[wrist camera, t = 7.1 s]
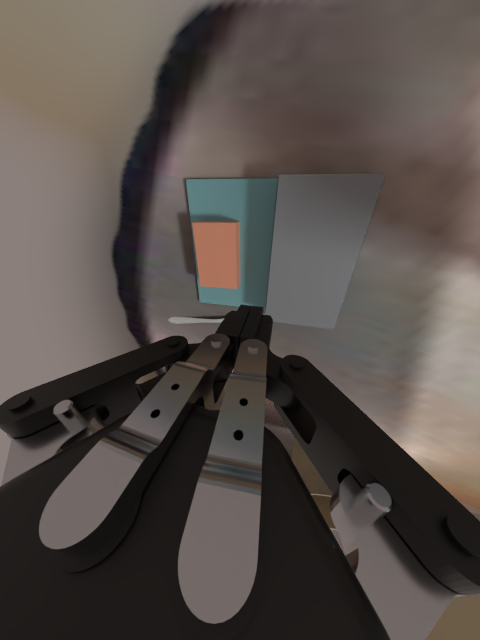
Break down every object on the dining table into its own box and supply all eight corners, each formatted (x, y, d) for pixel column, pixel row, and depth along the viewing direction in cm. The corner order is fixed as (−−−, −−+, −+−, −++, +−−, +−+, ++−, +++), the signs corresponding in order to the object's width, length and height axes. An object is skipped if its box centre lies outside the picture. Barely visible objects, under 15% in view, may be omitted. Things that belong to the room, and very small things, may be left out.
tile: (192, 222, 25) (199, 221, 27) (200, 286, 30) (205, 281, 32) (235, 222, 24) (239, 221, 26) (236, 289, 29) (240, 283, 31)
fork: (155, 313, 39) (150, 317, 38) (271, 308, 33) (270, 312, 31) (161, 326, 41) (156, 330, 39) (273, 323, 34) (272, 329, 33)
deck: (371, 177, 21) (386, 172, 18) (328, 315, 30) (333, 329, 27) (280, 178, 23) (279, 174, 19) (267, 308, 32) (264, 320, 29)
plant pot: (334, 448, 49) (350, 538, 36) (278, 429, 50) (274, 509, 37) (366, 418, 41) (402, 521, 27) (299, 397, 42) (303, 485, 29)
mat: (278, 178, 23) (277, 178, 22) (265, 308, 32) (265, 309, 32) (187, 179, 25) (185, 179, 25) (200, 300, 35) (199, 302, 34)
